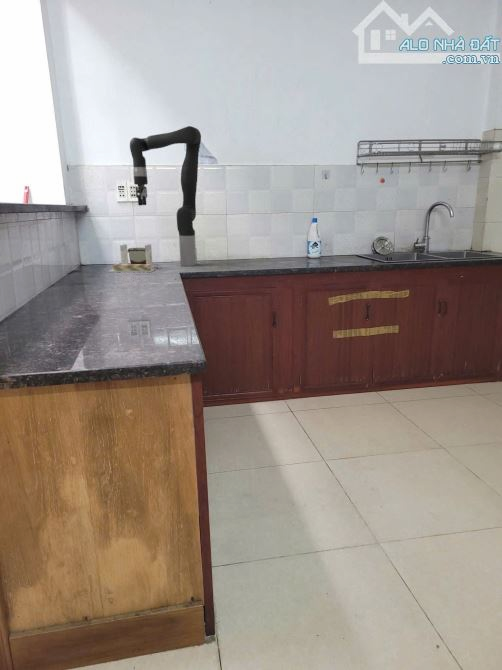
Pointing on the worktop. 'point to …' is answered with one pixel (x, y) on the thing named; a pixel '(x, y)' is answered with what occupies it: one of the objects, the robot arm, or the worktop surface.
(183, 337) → the worktop surface
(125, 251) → the rack
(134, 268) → the rail
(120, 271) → the mat
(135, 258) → the food container
